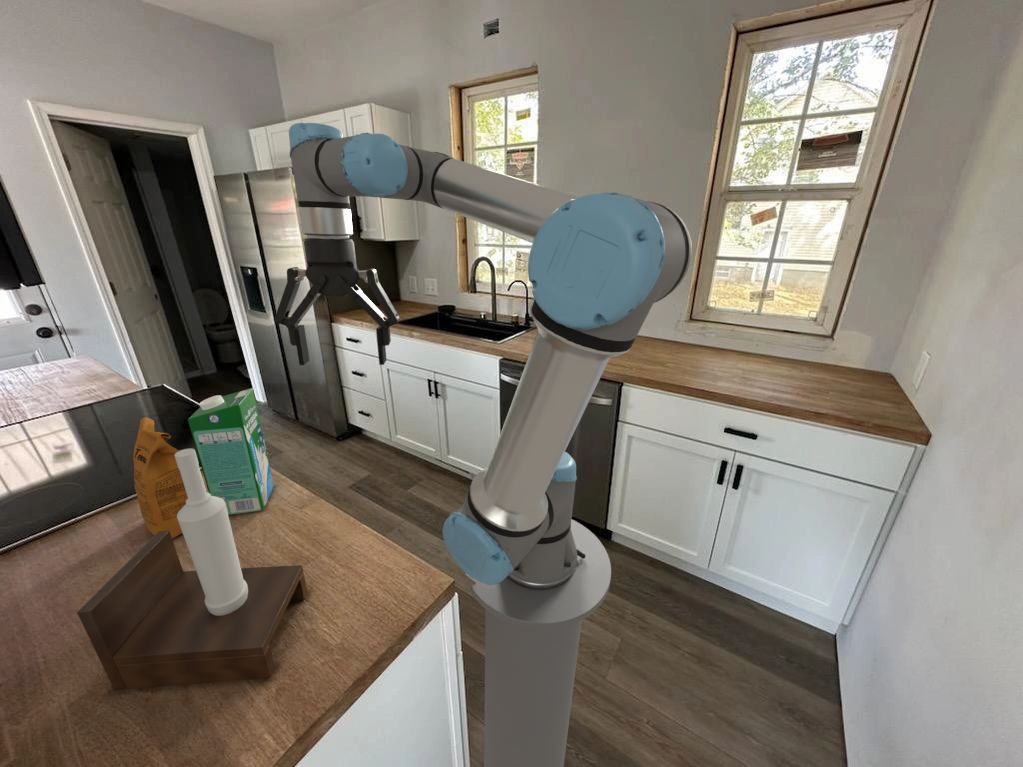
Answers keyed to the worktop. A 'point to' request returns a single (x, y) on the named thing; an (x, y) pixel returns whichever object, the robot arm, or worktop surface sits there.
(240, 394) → the milk carton
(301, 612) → the worktop surface
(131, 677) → the shelf
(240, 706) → the worktop surface
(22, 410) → the worktop surface
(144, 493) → the coffee package
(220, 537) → the bottle
